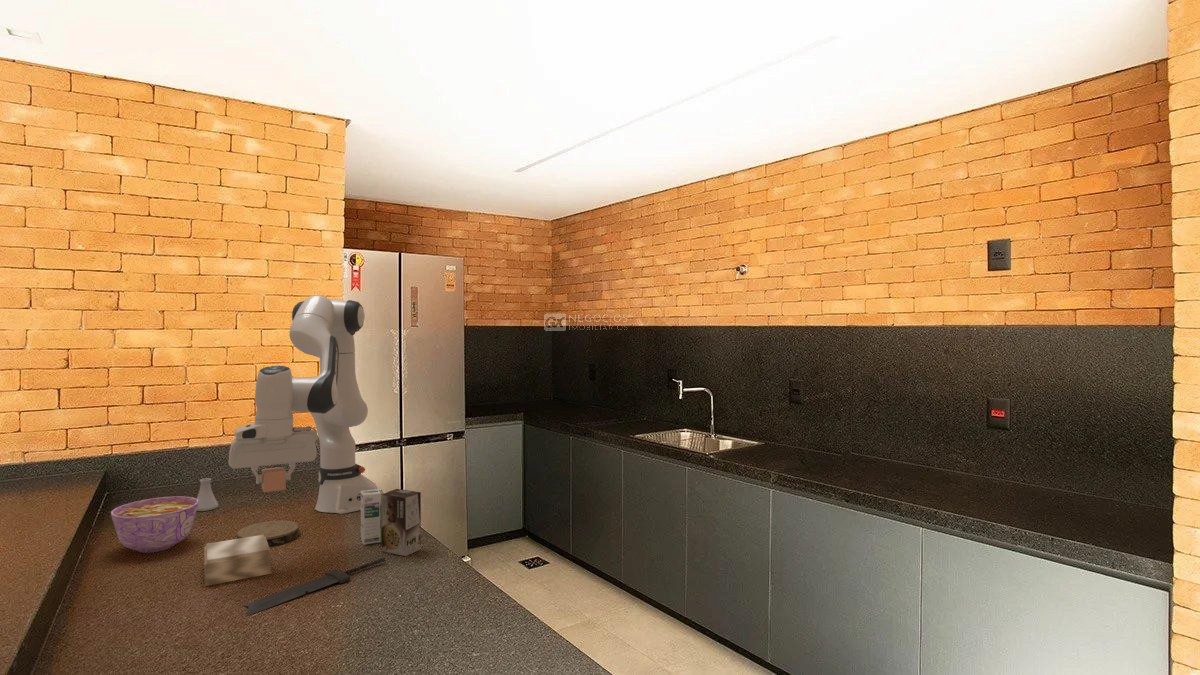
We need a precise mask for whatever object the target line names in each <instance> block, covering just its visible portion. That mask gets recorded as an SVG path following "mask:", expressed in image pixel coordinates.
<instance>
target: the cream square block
mask: <svg viewBox="0 0 1200 675" xmlns="http://www.w3.org/2000/svg"><path fill="white" fill-rule="evenodd" d="M205 544H206V545H205V546H204V547H203V554H204V556H203V562H204V563H203V565H204V567H203V568H204V569H203V570H204V571H203V572H204V586H205V587H208V586H213V585H218V584H223V583H228V582H234V581H238V580H239V581H241V580H243V579H244V580H245V579H248V578H255V577H260V576H265V575H266V576H267V575H270V574H272V552H271V548H270V547H269V545H268V542H267V539H266V537H264V535H258V536H252V537H246V538H239V539H237V538H235V539H227V540H222V541H215V542H214V541H213V542H208V543H205Z"/></svg>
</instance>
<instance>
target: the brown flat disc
mask: <svg viewBox="0 0 1200 675" xmlns="http://www.w3.org/2000/svg"><path fill="white" fill-rule="evenodd" d="M299 529H300V527H299V523H297V522H295V521H292V520H286V519H285V520H282V519H281V520H269V521H267V520H266V521H263V522H262V521H261V522H257V523H253V524H249V525H247V526H244V527H242V528H241V529H239V530H238V531H237V532H236V539H239V538H246V537H252V536H258V535H264V537H266V539H267V542H268V545H269V548H270V547H271V548H272V547H276V546H280V545H284V544H286V543H290V542H292V541H294V540H296V539H297V538H298V537H299V534H300V530H299Z"/></svg>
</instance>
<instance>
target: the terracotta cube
mask: <svg viewBox="0 0 1200 675" xmlns="http://www.w3.org/2000/svg"><path fill="white" fill-rule="evenodd" d="M286 473H287V470H286V468H285V467H284V466H281V467H270V468H269V467H268V468H262V469H261V475H263V483H261V489H262V491H263V493H270V492H278V491H286V490H287V486H286V485H287V482H286Z"/></svg>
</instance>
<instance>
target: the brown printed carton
mask: <svg viewBox="0 0 1200 675" xmlns="http://www.w3.org/2000/svg"><path fill="white" fill-rule="evenodd" d="M383 493H384V492H383ZM421 493H422V492H421V491H414V490H407V489H399V488H395V489H391V490H390V491H387V492H385V493H384V494H381V538H382V542H381V552H384V553H389V554H394V555H400V556H404V557H407V556H409V555H411V554H414V553H416V552H418V551H420V550H421V549H422V547H421V546H422V545H421V544H422V543H421V542H422V540H421V539H422V538H421V537H422V536H421V535H422V534H421V533H422V531H421V530H422V529H421V526H422V524H421V523H422V520H421V519H422V518H421V517H422V516H421V515H422V514H421V513H422V511H421V510H422V508H421V507H422V505H421V502H422V501H421V499H422V498H421V497H422V494H421Z"/></svg>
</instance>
